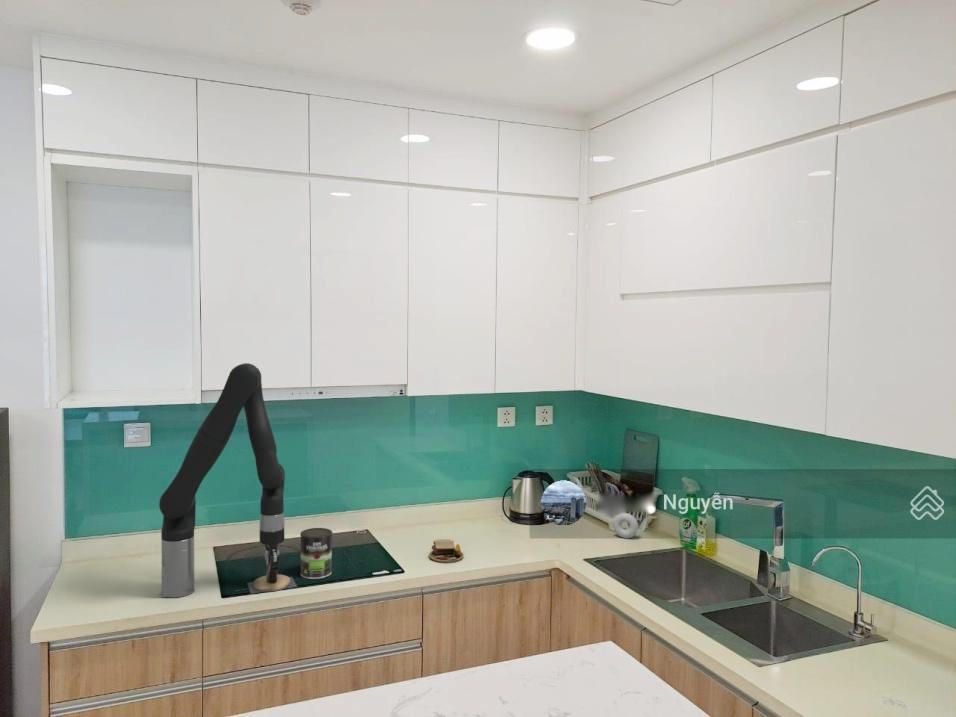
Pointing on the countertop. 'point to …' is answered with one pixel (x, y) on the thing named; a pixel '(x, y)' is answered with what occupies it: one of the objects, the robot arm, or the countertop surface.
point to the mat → (253, 590)
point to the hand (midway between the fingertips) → (271, 580)
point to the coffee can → (316, 553)
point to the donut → (625, 518)
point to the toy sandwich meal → (445, 551)
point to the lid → (266, 586)
